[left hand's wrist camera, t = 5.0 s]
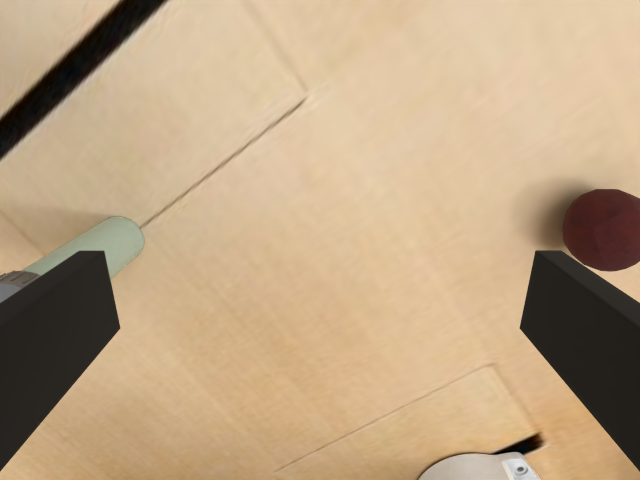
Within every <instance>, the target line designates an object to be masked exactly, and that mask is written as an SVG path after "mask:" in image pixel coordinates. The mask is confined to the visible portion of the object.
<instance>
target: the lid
mask: <svg viewBox="0 0 640 480" xmlns="http://www.w3.org/2000/svg"><path fill="white" fill-rule="evenodd" d="M40 276H41V275H39V274H37V273H33V272H28V271H12V272H10V273H7V274H5V273H4V274H2V275H1V276H0V303H1V302H3V301H4V300H6V299H7V298H9V297H10V296H12V295H13V294H15V293H16V292H18V291H19V290H21V289H22V288H24V287H25V286H27V285H28V284H30V283H31V282H33V281H34V280H36V279H37V278H39V277H40Z"/></svg>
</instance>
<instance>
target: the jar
mask: <svg viewBox="0 0 640 480" xmlns="http://www.w3.org/2000/svg"><path fill="white" fill-rule="evenodd" d="M143 246H144V237H143V234H142V231H141V230H140V228H139V227H138V226H137V225H136V224H135V223H134V222H133V221H131V220H129V219H127V218H124V217H110V218H108V219H106V220H104V221H103V222H101V223H99V224H98V225H96V226H94V227H93V228H91V229H89V230H88V231H86V232H84V233H83V234H81V235H79V236H78V237H76V238H74V239H73V240H71V241H70V242H68V243H66V244H65V245H63V246H61V247H60V248H58V249H56V250H55V251H53V252H51V253H50V254H48V255H46V256H45V257H43V258H41V259H40V260H38V261H36V262H35V263H33V264H31V265H30V266H28V267H26V268H25V269H23V270H21V271H28V272H33V273H37V274H39V275H41V276H42V275H43V274H45V273H46V272H48V271H49V270H51V269H52V268H54V267H55V266H57V265H58V264H60V263H61V262H63V261H64V260H66V259H67V258H69V257H70V256H72V255H73V254H75V253H76V252H78V251H105V256H106V261H107V266H108V271H109V276H110V280H111V279H112V278H113V277H114V276H115V275H116V274H117V273H118V272H119V271H121V270H122V269H123V268H124V267H125V266H126V265H127V264H128V263H129V262H131V261H132V260H133V259H134V258H135V257H136V256H137V255H138V254H139V253H140V252H141V251H142V249H143Z"/></svg>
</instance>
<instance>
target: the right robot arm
mask: <svg viewBox="0 0 640 480" xmlns="http://www.w3.org/2000/svg"><path fill="white" fill-rule="evenodd" d="M419 480H541V479H540V477H539V476H538V475H537V473H536V472H535V471H534V469H533V468H532V467H531V465H530V464H529V463H528V461H527V460H526V459H525V458H524V456H523V455H522V454H521V453H518V452H510V453H504V454H499V455H487V454H462V455H457V456H453V457H450V458H447V459H444V460H442V461H440V462H438V463H436V464H435V465H433V466H432V467H430V468H429V469H428V470H426V471H425V472H424V473H423V474H422V476H421V477H420V478H419Z"/></svg>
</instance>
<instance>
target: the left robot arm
mask: <svg viewBox="0 0 640 480" xmlns="http://www.w3.org/2000/svg"><path fill="white" fill-rule="evenodd" d="M119 329H120V324H119V320H118V315H117V310H116V305H115V300H114V295H113V290H112V285H111V281H110V276H109V271H108V266H107V261H106V256H105V251H78V252H76V253H75V254H73V255H72V256H70V257H69V258H67V259H66V260H64V261H63V262H61V263H60V264H58V265H57V266H55V267H54V268H52V269H51V270H49V271H48V272H46V273H45V274H43V275H42V276H40V277H39V278H37V279H36V280H34V281H33V282H31V283H30V284H28V285H27V286H25V287H24V288H22V289H21V290H19V291H18V292H16V293H15V294H13V295H12V296H10V297H9V298H7V299H6V300H4V301H3V302H1V303H0V471H1V470H2V469H3V467H4V466H5V465H6V464H7V463H8V462H9V460H10V459H11V458H12V457H13V456H14V454H15V453H16V452H17V451H18V450H19V448H20V447H21V446H22V445H23V444H24V442H25V441H26V440H27V439H28V438H29V436H30V435H31V434H32V433H33V432H34V431H35V429H36V428H37V427H38V426H39V425H40V423H41V422H42V421H43V420H44V419H45V417H46V416H47V415H48V414H49V413H50V411H51V410H52V409H53V408H54V407H55V406H56V404H57V403H58V402H59V401H60V400H61V398H62V397H63V396H64V395H65V394H66V392H67V391H68V390H69V389H70V388H71V386H72V385H73V384H74V383H75V382H76V380H77V379H78V378H79V377H80V376H81V375H82V373H83V372H84V371H85V370H86V369H87V367H88V366H89V365H90V364H91V363H92V361H93V360H94V359H95V358H96V357H97V355H98V354H99V353H100V352H101V351H102V350H103V348H104V347H105V346H106V345H107V344H108V342H109V341H110V340H111V339H112V338H113V336H114V335H115V334H116V333H117V332H118V330H119ZM520 329H521V330H522V332H523V333H524V334H525V335H526V336H527V338H528V339H529V340H530V341H531V342H532V344H533V345H534V346H535V347H536V348H537V350H538V351H539V352H540V353H541V354H542V355H543V357H544V358H545V359H546V360H547V361H548V363H549V364H550V365H551V366H552V367H553V369H554V370H555V371H556V372H557V373H558V375H559V376H560V377H561V378H562V379H563V380H564V382H565V383H566V384H567V385H568V386H569V388H570V389H571V390H572V391H573V392H574V394H575V395H576V396H577V397H578V398H579V400H580V401H581V402H582V403H583V404H584V406H585V407H586V408H587V409H588V410H589V411H590V413H591V414H592V415H593V416H594V417H595V419H596V420H597V421H598V422H599V423H600V425H601V426H602V427H603V428H604V429H605V431H606V432H607V433H608V434H609V435H610V436H611V438H612V439H613V440H614V441H615V442H616V444H617V445H618V446H619V447H620V448H621V450H622V451H623V452H624V453H625V454H626V456H627V457H628V458H629V459H630V460H631V462H632V463H633V464H634V465H635V466H636V467H637V469H638V470H639V471H640V303H639V302H637V301H636V300H634V299H633V298H631V297H630V296H628V295H627V294H625V293H624V292H622V291H621V290H619V289H618V288H616V287H615V286H613V285H612V284H610V283H609V282H607V281H606V280H604V279H603V278H601V277H600V276H598V275H597V274H595V273H594V272H592V271H591V270H589V269H588V268H586V267H585V266H583V265H582V264H580V263H579V262H577V261H576V260H574V259H573V258H571V257H570V256H568V255H567V254H565V253H564V252H562V251H535V256H534V261H533V266H532V271H531V276H530V280H529V285H528V290H527V295H526V300H525V305H524V310H523V315H522V320H521V324H520Z"/></svg>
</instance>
